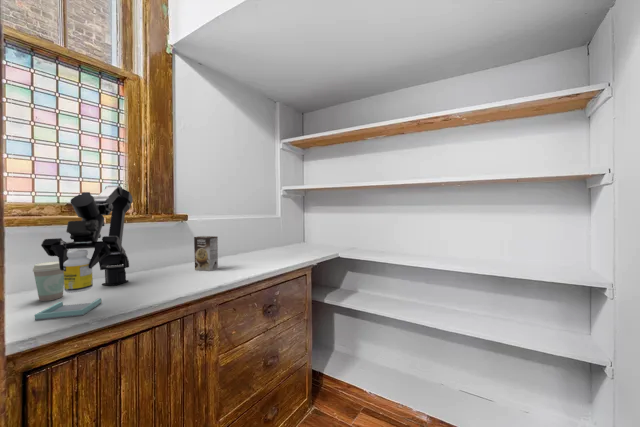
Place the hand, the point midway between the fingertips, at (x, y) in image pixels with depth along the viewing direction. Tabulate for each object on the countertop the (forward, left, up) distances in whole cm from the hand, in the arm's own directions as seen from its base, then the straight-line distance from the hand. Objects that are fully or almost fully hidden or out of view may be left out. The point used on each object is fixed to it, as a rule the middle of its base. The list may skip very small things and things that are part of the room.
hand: (75, 268), depth 83 cm
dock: (-3, 0, -13) cm, 13 cm away
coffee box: (+7, +57, -13) cm, 59 cm away
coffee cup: (-22, +10, -13) cm, 27 cm away
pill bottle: (-1, +1, -7) cm, 7 cm away
